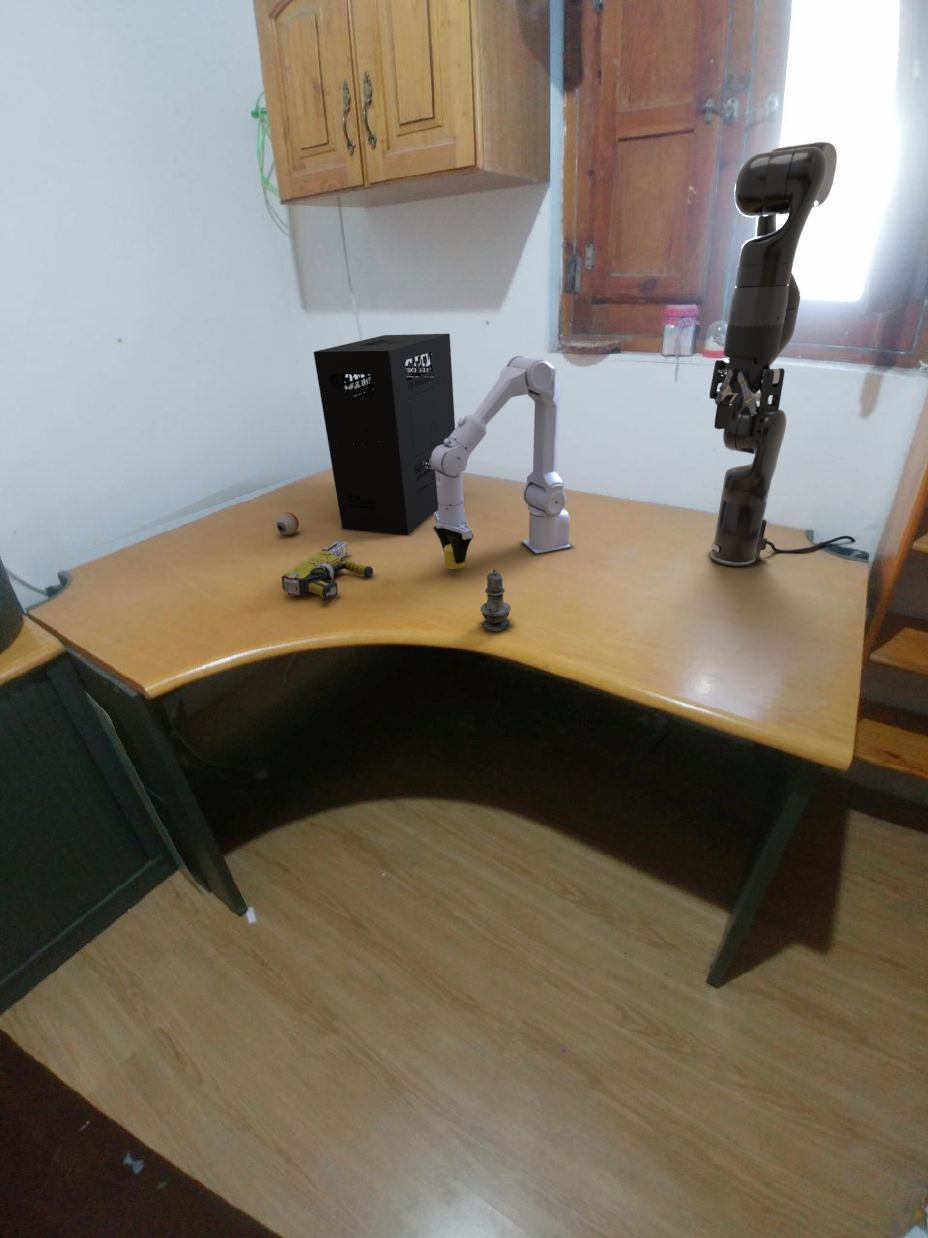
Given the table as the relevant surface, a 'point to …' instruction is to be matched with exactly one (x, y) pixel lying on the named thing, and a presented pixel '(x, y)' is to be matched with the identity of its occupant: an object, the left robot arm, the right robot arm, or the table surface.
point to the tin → (451, 558)
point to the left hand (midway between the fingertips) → (454, 558)
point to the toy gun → (321, 572)
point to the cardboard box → (386, 427)
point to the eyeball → (287, 523)
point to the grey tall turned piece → (495, 604)
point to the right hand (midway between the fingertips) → (736, 433)
